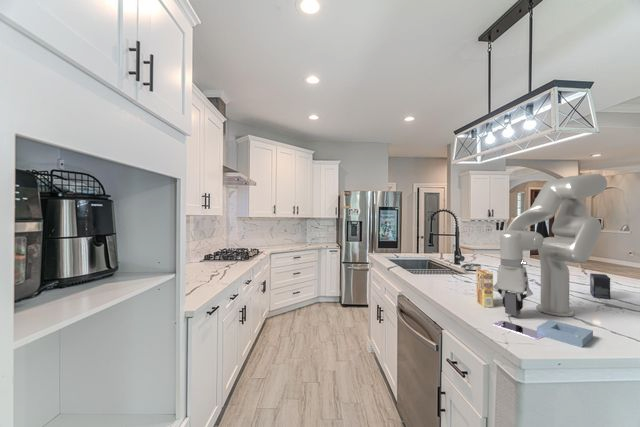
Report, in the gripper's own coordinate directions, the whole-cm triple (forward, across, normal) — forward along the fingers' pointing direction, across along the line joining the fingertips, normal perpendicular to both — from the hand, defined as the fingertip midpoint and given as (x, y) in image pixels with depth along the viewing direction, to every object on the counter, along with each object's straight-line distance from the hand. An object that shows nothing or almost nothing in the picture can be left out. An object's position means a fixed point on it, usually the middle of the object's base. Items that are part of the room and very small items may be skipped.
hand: (512, 307), depth 118 cm
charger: (+2, 0, 0) cm, 2 cm away
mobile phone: (+4, -7, +13) cm, 15 cm away
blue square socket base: (+4, -18, +6) cm, 19 cm away
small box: (+6, -13, -68) cm, 69 cm away
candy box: (+4, +14, -7) cm, 17 cm away
